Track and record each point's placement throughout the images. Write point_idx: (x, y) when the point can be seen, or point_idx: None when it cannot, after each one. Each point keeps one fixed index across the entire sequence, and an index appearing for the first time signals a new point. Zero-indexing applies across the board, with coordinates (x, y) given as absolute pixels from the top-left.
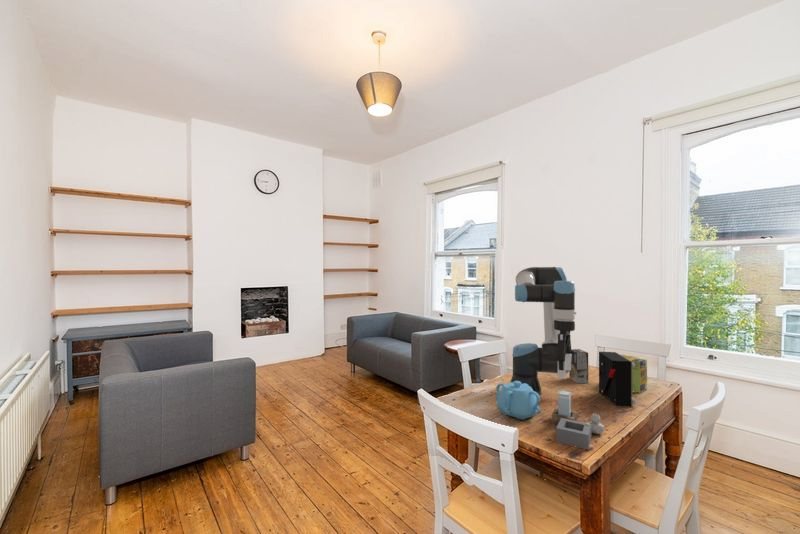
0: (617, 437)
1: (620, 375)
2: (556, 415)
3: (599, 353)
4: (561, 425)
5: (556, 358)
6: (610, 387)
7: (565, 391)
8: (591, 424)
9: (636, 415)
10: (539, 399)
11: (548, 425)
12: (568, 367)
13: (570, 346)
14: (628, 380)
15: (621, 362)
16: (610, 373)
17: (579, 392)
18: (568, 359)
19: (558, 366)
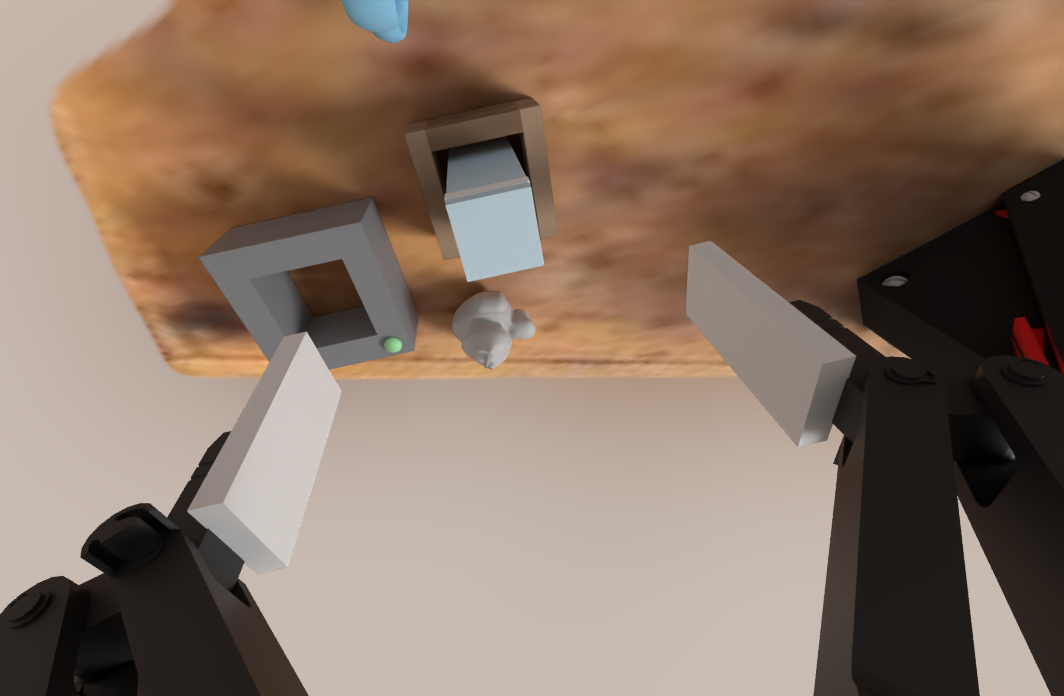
0: (505, 371)
1: None
2: (414, 164)
3: None
4: (258, 264)
5: (11, 612)
6: (991, 273)
7: (536, 230)
8: (464, 324)
9: None
10: (375, 31)
11: (382, 111)
12: (700, 312)
13: (980, 537)
14: None
15: None
16: (1028, 347)
17: (1049, 60)
18: (756, 371)
19: (238, 443)
